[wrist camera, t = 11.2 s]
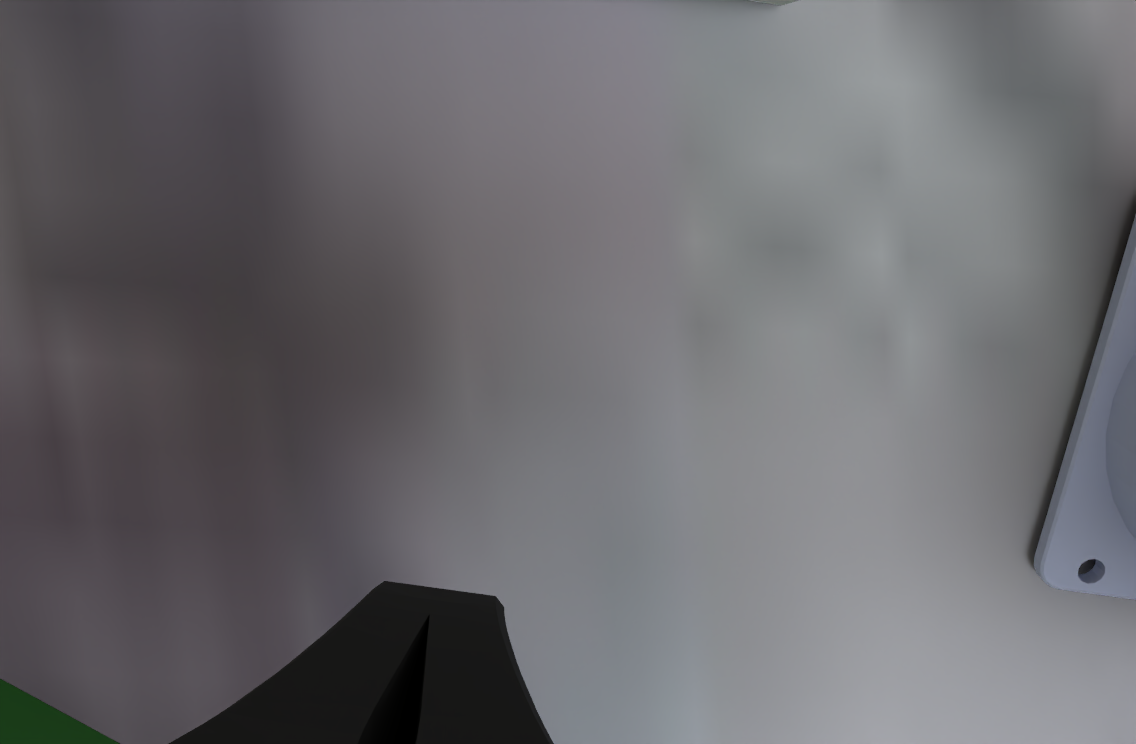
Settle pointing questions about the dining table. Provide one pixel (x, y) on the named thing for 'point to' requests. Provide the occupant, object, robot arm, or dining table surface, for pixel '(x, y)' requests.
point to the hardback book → (40, 722)
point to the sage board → (775, 1)
